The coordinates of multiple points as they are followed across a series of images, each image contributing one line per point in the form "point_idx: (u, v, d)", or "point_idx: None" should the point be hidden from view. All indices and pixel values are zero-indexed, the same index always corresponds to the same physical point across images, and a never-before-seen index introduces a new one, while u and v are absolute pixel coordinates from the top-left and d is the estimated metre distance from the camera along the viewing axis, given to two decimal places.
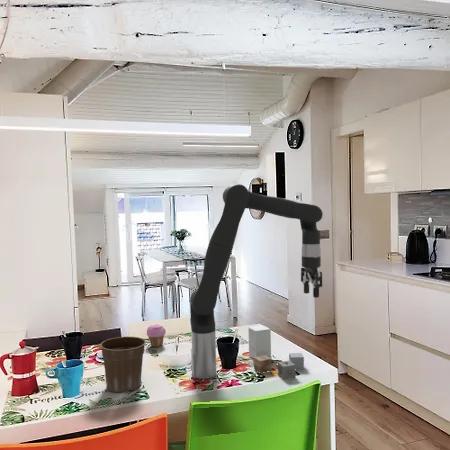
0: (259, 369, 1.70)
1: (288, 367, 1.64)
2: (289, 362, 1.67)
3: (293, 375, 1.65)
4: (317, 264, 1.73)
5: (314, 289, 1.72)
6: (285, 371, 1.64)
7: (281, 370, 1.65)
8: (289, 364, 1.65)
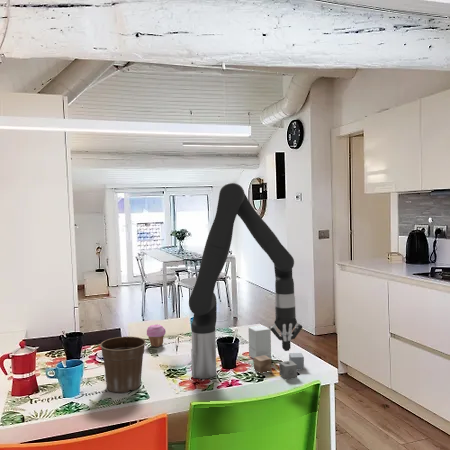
0: (259, 369, 1.70)
1: (290, 367, 1.64)
2: (291, 362, 1.67)
3: (295, 375, 1.65)
4: None
5: (288, 342, 1.65)
6: (287, 371, 1.64)
7: (282, 370, 1.65)
8: (291, 364, 1.65)
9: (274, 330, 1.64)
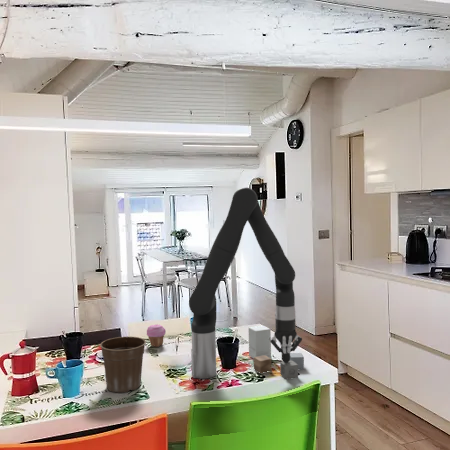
0: (259, 369, 1.70)
1: (291, 367, 1.64)
2: (292, 362, 1.68)
3: (296, 375, 1.65)
4: None
5: (288, 354, 1.66)
6: (288, 371, 1.64)
7: (283, 370, 1.65)
8: (292, 364, 1.65)
9: (274, 342, 1.64)
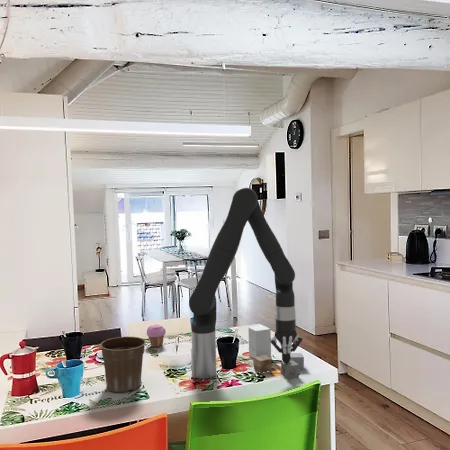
0: (259, 369, 1.70)
1: (291, 367, 1.64)
2: (292, 362, 1.68)
3: (296, 375, 1.65)
4: None
5: (288, 354, 1.65)
6: (288, 371, 1.64)
7: (284, 370, 1.65)
8: (292, 364, 1.65)
9: (274, 342, 1.64)
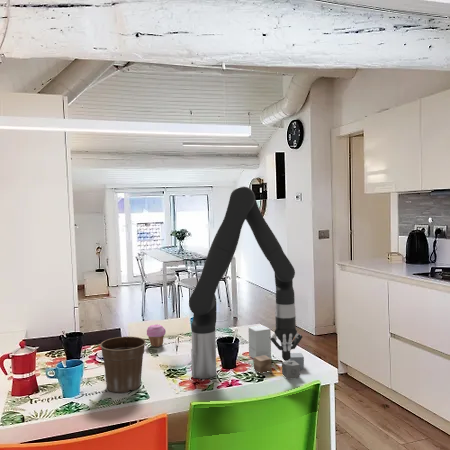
0: (259, 369, 1.70)
1: (292, 367, 1.64)
2: (293, 362, 1.68)
3: (297, 375, 1.65)
4: None
5: (288, 352, 1.65)
6: (289, 371, 1.64)
7: (285, 370, 1.65)
8: (293, 364, 1.65)
9: (274, 340, 1.64)
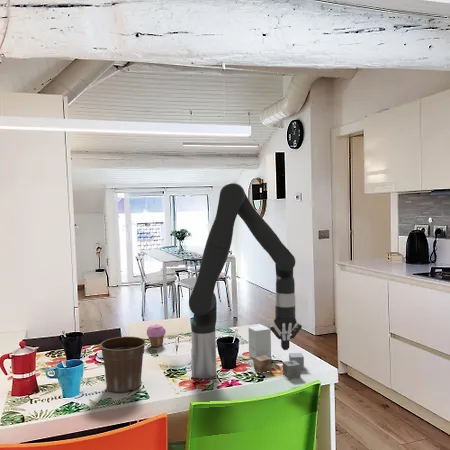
0: (259, 369, 1.70)
1: (293, 367, 1.64)
2: (294, 362, 1.68)
3: (298, 375, 1.65)
4: None
5: (287, 341, 1.65)
6: (290, 371, 1.64)
7: (286, 369, 1.65)
8: (294, 364, 1.66)
9: (273, 329, 1.64)
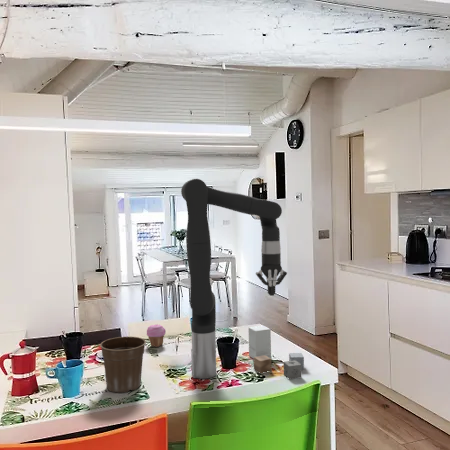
0: (259, 369, 1.70)
1: (294, 367, 1.64)
2: (295, 362, 1.68)
3: (299, 375, 1.65)
4: None
5: (273, 287, 1.75)
6: (291, 371, 1.64)
7: (287, 369, 1.65)
8: (295, 364, 1.66)
9: (260, 275, 1.73)
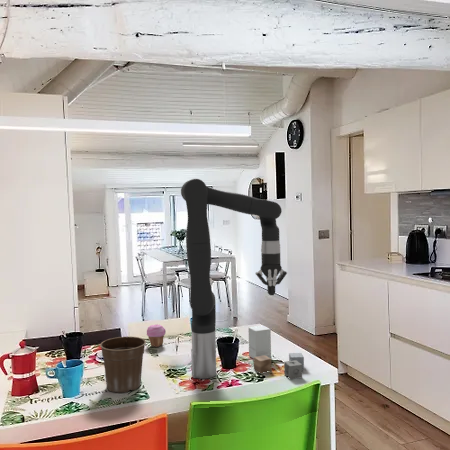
0: (259, 369, 1.70)
1: (295, 367, 1.64)
2: (296, 362, 1.68)
3: (300, 375, 1.65)
4: None
5: (273, 287, 1.75)
6: (292, 371, 1.64)
7: (287, 369, 1.65)
8: (296, 364, 1.66)
9: (260, 275, 1.73)
